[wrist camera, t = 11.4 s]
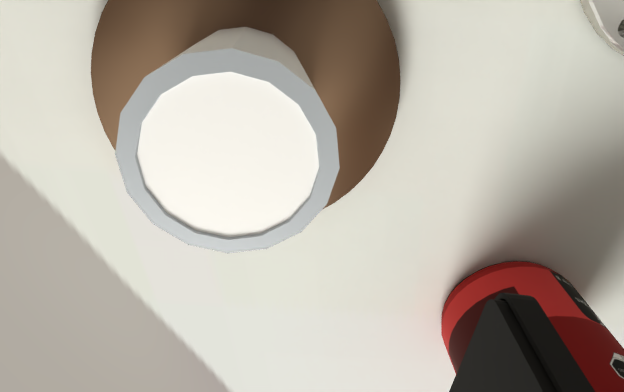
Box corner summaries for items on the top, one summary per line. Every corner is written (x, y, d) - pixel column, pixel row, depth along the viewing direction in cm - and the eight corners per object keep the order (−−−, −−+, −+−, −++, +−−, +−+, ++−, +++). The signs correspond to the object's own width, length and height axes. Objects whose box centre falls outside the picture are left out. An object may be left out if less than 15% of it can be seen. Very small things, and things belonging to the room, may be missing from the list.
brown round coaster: (428, -45, 21) (435, -43, 20) (361, 227, 27) (365, 240, 26) (95, -106, 19) (84, -108, 18) (103, 197, 25) (95, 209, 24)
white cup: (200, 186, 24) (171, 278, 18) (132, 41, 21) (69, 92, 15) (342, 142, 23) (364, 222, 17) (295, -14, 20) (301, 15, 14)
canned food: (563, 351, 32) (686, 539, 22) (435, 365, 32) (502, 559, 22) (582, 248, 28) (740, 419, 19) (438, 264, 28) (519, 443, 19)
